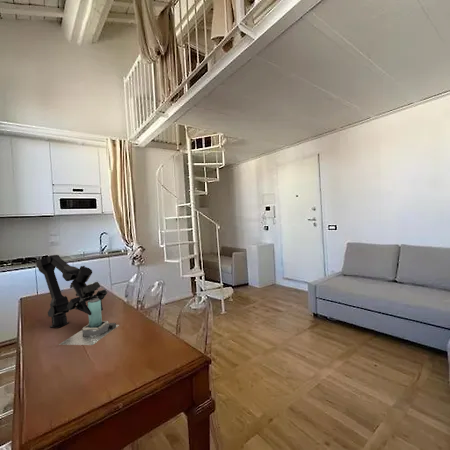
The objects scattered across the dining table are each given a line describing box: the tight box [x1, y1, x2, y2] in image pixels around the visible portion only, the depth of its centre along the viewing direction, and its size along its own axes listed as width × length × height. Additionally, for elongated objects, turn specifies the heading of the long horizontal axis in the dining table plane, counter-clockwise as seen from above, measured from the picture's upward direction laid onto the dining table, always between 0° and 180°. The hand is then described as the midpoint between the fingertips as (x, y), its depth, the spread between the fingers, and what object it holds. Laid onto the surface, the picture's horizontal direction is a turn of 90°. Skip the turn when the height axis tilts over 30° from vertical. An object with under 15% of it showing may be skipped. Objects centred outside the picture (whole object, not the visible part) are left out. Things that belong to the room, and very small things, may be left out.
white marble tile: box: [58, 320, 120, 346], centre depth 127 cm, size 17×22×5 cm
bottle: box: [87, 298, 103, 328], centre depth 130 cm, size 6×6×13 cm
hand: (96, 312), depth 129 cm, fingers closed on bottle, 6 cm apart
